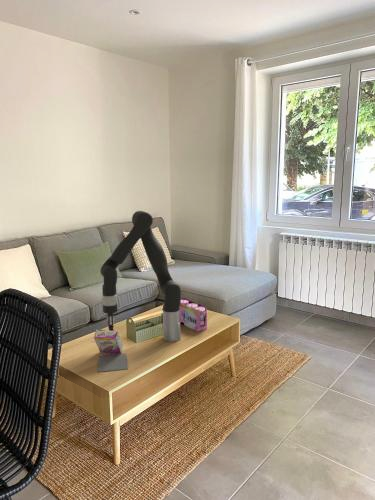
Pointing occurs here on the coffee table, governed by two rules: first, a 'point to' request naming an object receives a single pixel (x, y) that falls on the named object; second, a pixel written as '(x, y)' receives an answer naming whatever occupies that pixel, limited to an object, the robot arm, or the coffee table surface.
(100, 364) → the mat
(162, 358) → the coffee table surface
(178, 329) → the robot arm
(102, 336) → the candy bar box
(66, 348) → the coffee table surface
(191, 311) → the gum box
